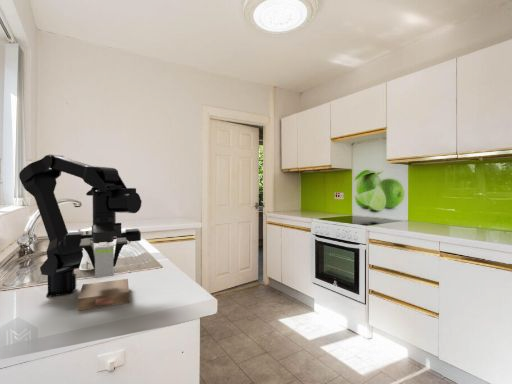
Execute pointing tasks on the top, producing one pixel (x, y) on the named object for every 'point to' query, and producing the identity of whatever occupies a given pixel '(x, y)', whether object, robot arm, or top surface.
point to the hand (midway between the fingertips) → (104, 267)
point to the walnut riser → (103, 294)
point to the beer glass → (86, 260)
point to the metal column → (104, 260)
